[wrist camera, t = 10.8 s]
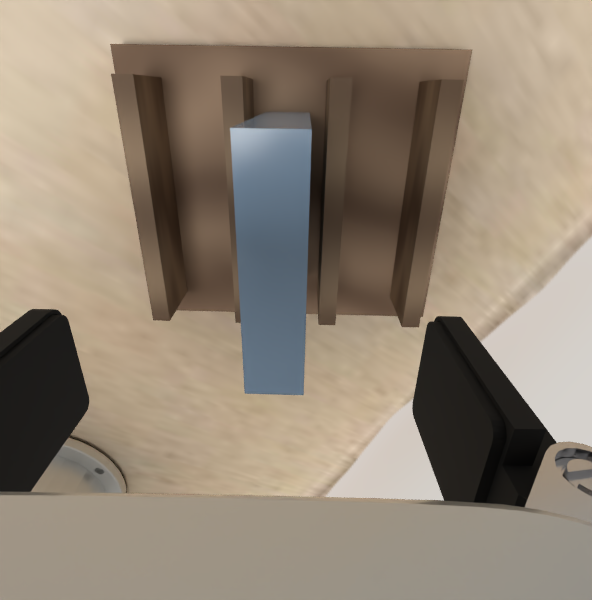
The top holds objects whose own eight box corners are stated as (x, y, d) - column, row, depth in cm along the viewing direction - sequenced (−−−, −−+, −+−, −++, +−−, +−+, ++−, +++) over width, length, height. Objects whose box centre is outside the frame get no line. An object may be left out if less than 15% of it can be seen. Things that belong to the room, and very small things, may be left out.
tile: (305, 276, 27) (303, 395, 16) (269, 275, 27) (244, 393, 16) (309, 112, 22) (311, 129, 12) (266, 111, 22) (230, 128, 12)
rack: (418, 308, 29) (439, 348, 25) (160, 301, 30) (133, 340, 25) (464, 51, 22) (506, 40, 17) (119, 46, 22) (70, 33, 18)
